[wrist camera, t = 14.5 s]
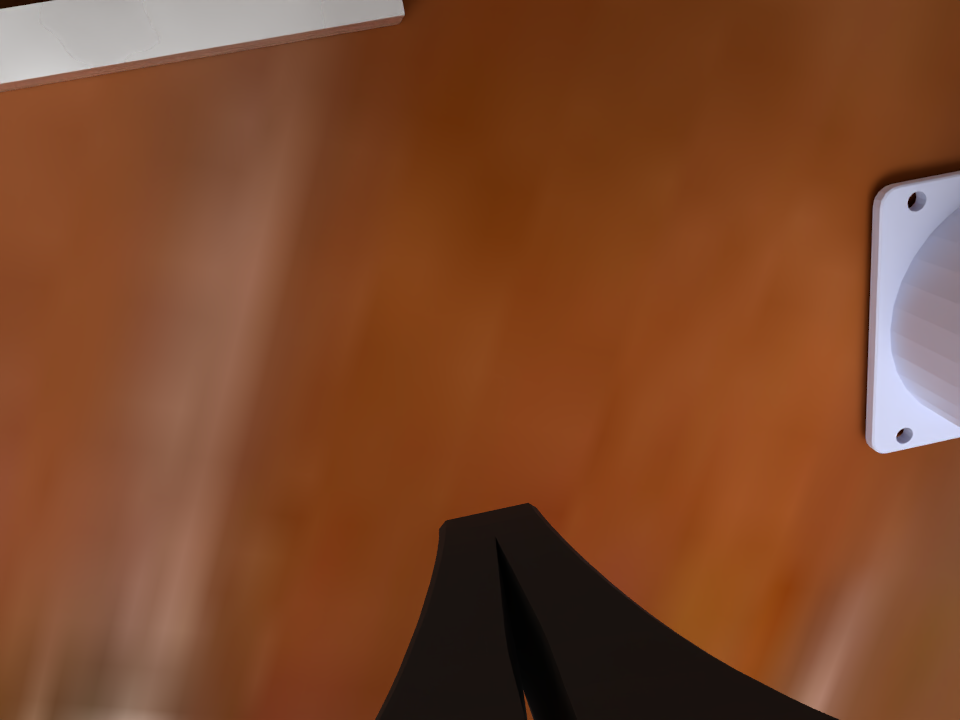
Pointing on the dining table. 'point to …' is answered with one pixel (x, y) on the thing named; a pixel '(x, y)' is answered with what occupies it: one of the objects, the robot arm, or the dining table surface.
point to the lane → (163, 32)
